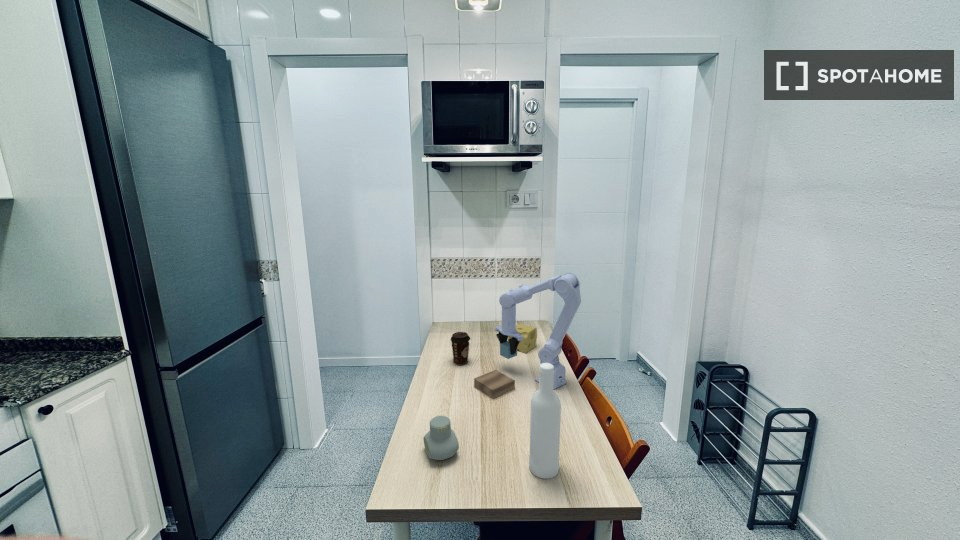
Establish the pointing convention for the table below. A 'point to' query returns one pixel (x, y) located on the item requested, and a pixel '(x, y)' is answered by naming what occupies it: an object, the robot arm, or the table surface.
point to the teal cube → (506, 350)
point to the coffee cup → (460, 347)
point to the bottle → (545, 426)
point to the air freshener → (440, 439)
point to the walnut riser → (494, 384)
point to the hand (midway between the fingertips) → (508, 351)
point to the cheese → (526, 337)
